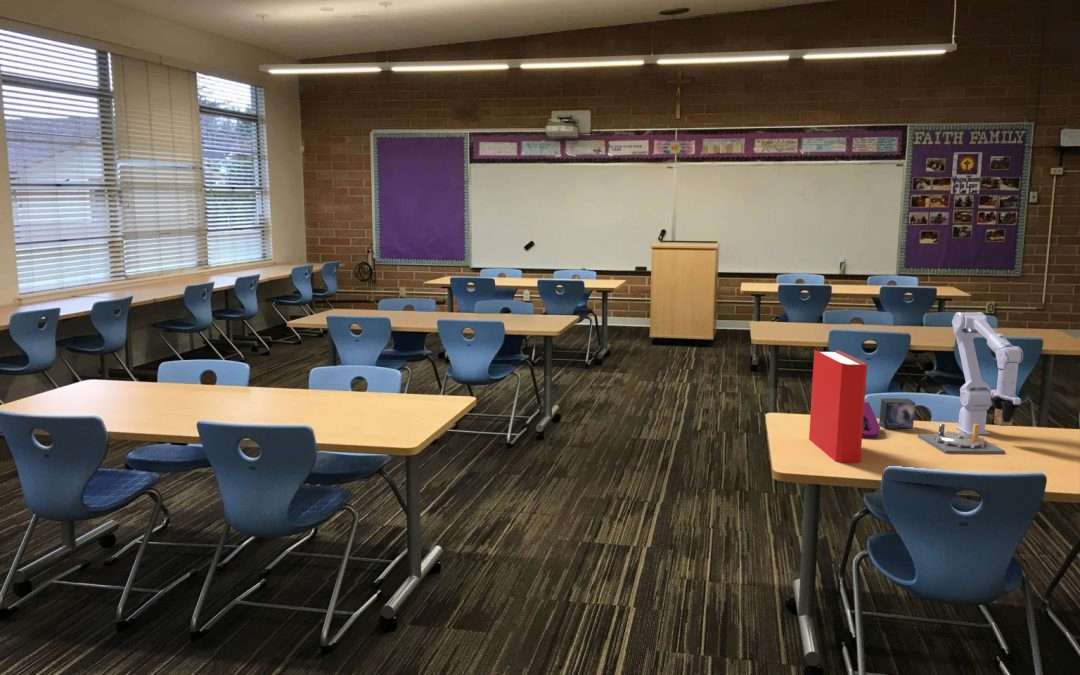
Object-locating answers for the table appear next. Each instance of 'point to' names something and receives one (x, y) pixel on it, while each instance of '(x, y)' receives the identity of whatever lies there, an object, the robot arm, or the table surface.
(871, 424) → the mounting bracket
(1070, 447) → the table surface
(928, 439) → the base plate
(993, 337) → the robot arm
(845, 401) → the book
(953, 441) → the sprocket
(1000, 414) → the link block
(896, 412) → the small box
